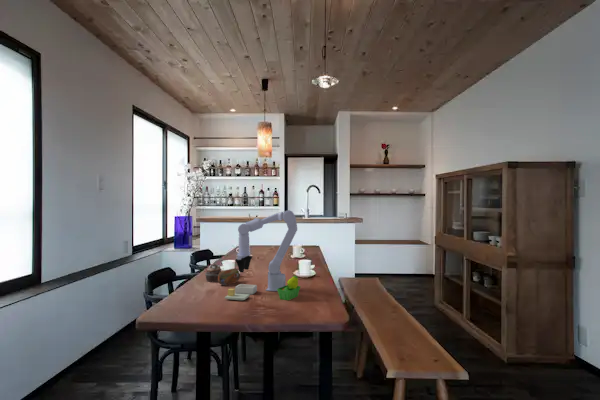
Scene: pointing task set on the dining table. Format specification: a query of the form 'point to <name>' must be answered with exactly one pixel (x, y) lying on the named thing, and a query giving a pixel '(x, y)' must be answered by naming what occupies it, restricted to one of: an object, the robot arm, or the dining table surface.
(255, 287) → the tub
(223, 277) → the tin
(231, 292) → the lid
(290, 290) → the fruit basket
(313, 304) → the dining table surface
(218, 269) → the cupcake
